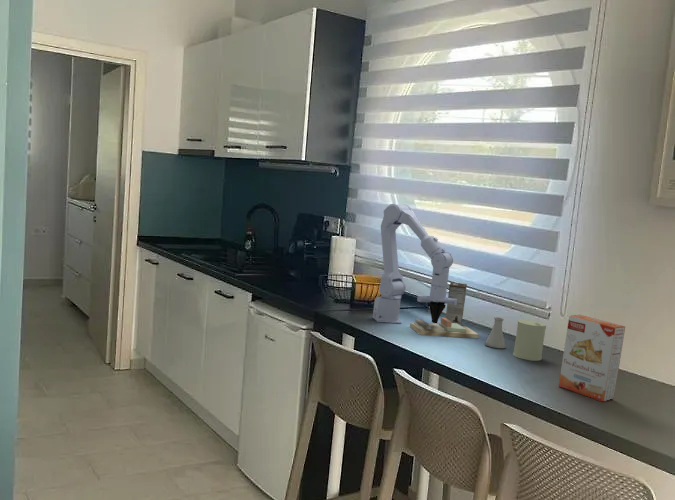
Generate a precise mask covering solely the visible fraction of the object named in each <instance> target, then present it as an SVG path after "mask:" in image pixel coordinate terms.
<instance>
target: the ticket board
mask: <svg viewBox="0 0 675 500" xmlns="http://www.w3.org/2000/svg"><path fill="white" fill-rule="evenodd" d="M461 326H462V325H461ZM409 327H410V329H412V330H413V331H414V332H416V333H419V334H418V335H420V336H432V337H435V336H436V337H447V338H448V337H449V338H463V339H465V338H466V339H479V333H478V332H476V331H475V330H472V329H471V328H470V327H467V326H466V325H465V326H462V327H464V328H465V329H466V332H452V331H446V329H444V328H443V327H441V326H440V325H439V323H433V322H431V323H430V322H426V320H424V319H422V318H415V319H414V322H410V323H409Z"/></svg>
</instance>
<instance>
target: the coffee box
mask: <svg viewBox="0 0 675 500" xmlns="http://www.w3.org/2000/svg"><path fill="white" fill-rule="evenodd" d="M466 294H467V283H460V282H455V281H454V282H453V281H452V282H450V284H449V289H448V294H447V295H448V297H447V298H454V299H457V305H454V304H447V305H446V311H445V312H446V313H445V318H446V319H448V320H449V321H451V322H452V323H457V324H459V325H461V326H462V323H463V317H464V309H465V302H466Z"/></svg>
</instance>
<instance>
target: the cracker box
mask: <svg viewBox="0 0 675 500" xmlns="http://www.w3.org/2000/svg"><path fill="white" fill-rule="evenodd" d="M568 317H569V318H568V321H567V329H566V335H565V342H564V348H563V355H562V362H561V368H560V376H559V382H558V387H560V388H562V389H565V390H568V391H571V392H574V393H576V394H579V395H582V396H585V397H587V396H588V398H590V397H591V399H593V398H594V399H593V400H596V399H597V400H596V401H599V400H600V401H599V402H601V401H605V402H608V401H607V400H609V401H611V400H610V399H613V400H614V399H615V395H616V394H615V393H616V387H617V380H618V375H619V371H620V370H619V369H620V362H621V356H622V351H623V342H624V338H625V332H626V325H625V326H624V325H622V324H617V323H613V322H609V321H605V320H602V319H597V318H594V317H591V316H587V315H582V314H572V315H571V314H570V315H569V316H568Z"/></svg>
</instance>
